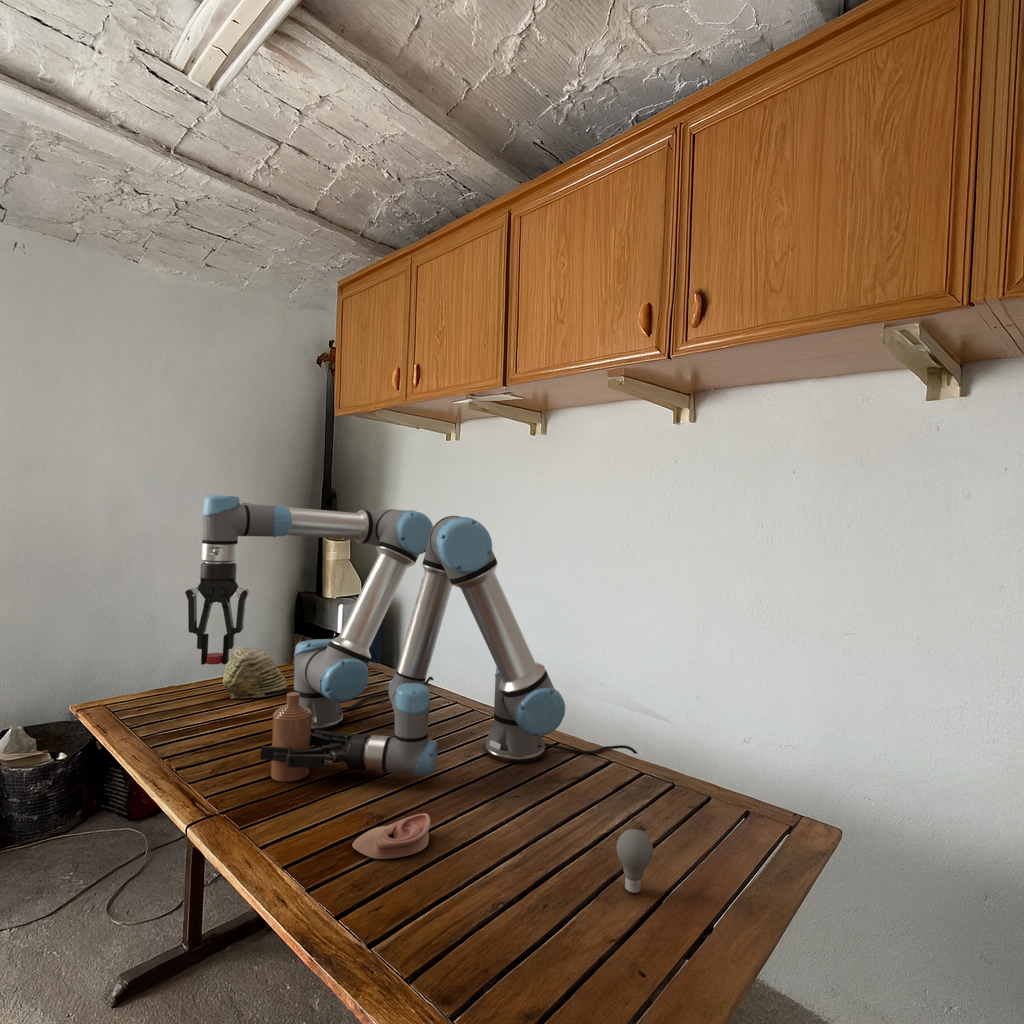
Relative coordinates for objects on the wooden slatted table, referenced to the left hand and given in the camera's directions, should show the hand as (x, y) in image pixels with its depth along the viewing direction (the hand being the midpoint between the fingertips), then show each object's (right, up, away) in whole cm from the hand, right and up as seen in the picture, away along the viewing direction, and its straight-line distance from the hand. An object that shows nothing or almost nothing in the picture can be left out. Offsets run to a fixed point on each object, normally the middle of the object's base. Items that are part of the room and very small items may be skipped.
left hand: (214, 662), depth 146 cm
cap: (0, +2, 0) cm, 2 cm away
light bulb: (+89, -29, -41) cm, 102 cm away
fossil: (-12, -22, +52) cm, 58 cm away
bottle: (+18, -25, -2) cm, 31 cm away
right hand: (+14, -18, -2) cm, 23 cm away
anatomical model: (+47, -26, -30) cm, 61 cm away
